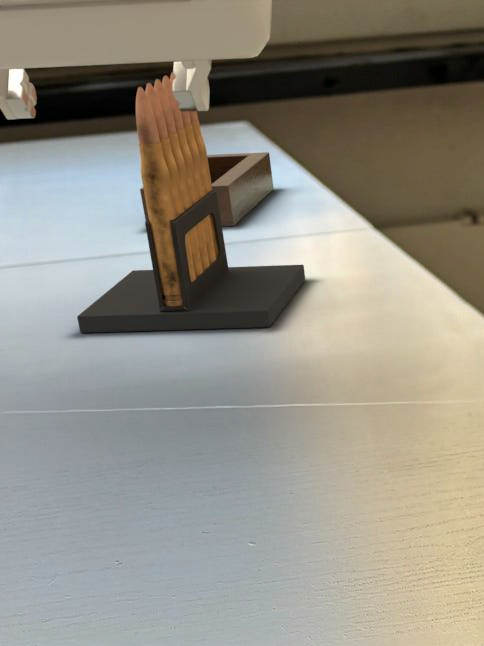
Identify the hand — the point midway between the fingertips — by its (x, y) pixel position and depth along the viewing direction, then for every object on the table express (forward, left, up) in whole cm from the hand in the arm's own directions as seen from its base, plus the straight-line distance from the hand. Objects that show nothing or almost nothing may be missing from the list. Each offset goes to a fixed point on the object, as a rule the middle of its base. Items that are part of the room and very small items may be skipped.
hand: (109, 104), depth 72 cm
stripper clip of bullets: (0, +10, -12) cm, 16 cm away
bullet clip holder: (-7, +44, -13) cm, 46 cm away
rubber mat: (0, +11, -13) cm, 17 cm away
